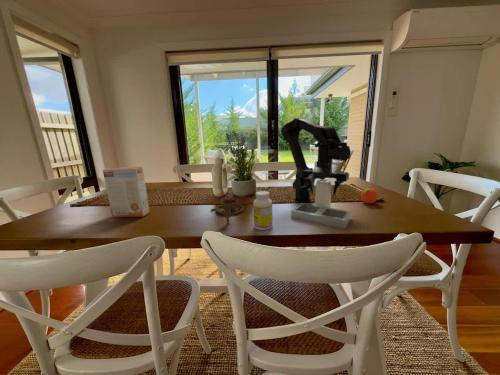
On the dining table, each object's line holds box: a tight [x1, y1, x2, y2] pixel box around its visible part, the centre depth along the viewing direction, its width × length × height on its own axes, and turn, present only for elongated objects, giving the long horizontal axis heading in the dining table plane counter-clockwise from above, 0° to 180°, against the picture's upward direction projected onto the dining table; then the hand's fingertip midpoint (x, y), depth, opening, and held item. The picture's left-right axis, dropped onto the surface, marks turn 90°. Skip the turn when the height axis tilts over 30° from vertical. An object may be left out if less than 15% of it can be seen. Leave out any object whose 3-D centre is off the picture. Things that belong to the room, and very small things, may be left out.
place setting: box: [210, 198, 245, 226], centre depth 92 cm, size 18×20×6 cm
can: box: [314, 179, 332, 208], centre depth 94 cm, size 6×6×12 cm
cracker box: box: [102, 166, 150, 218], centre depth 93 cm, size 14×6×21 cm, turn 86°
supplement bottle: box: [252, 190, 273, 231], centre depth 77 cm, size 7×7×13 cm
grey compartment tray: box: [290, 202, 353, 230], centre depth 84 cm, size 20×10×3 cm, turn 55°
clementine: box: [360, 187, 379, 205], centre depth 98 cm, size 8×7×7 cm
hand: (323, 194), depth 94 cm, fingers open, 9 cm apart
